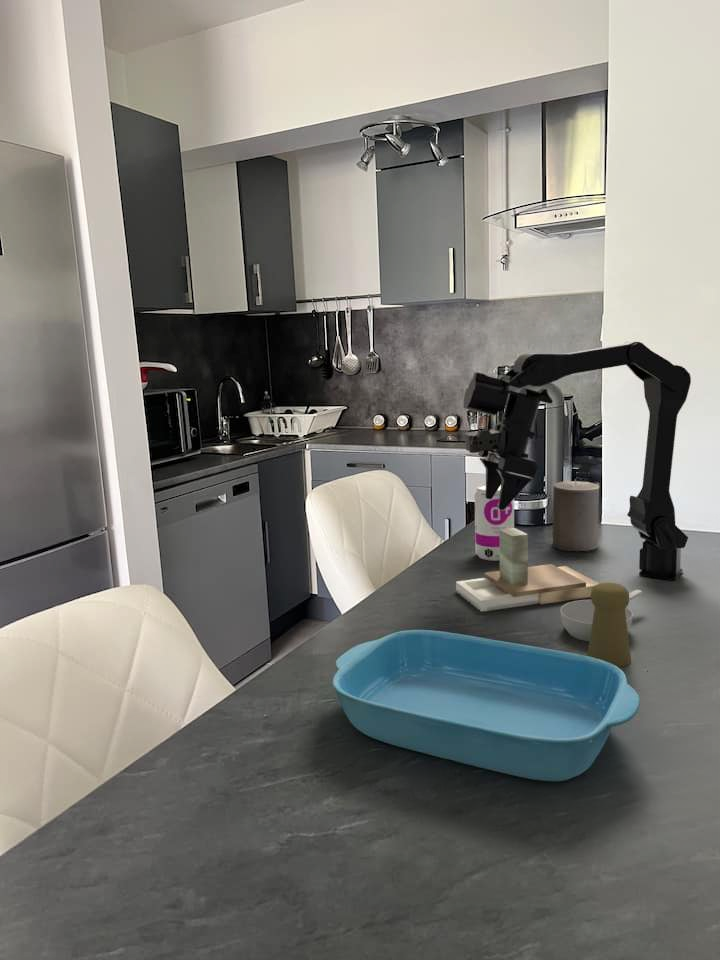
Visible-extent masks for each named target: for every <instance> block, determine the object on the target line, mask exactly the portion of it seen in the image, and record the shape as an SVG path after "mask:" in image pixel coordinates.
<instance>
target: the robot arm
mask: <svg viewBox="0 0 720 960" xmlns="http://www.w3.org/2000/svg"><path fill="white" fill-rule="evenodd" d="M620 366H626V367H628V369H629V370H630V371H631V372H632V373H633V374H634V375H635V376H636V377H637V378H638V379H639V380H641V381H642V382H643V393H644V399H645V402H646V405H647V410H648V413H649V418H648V428H647V439H646V448H645V458H644V467H643V468H644V469H643V478H642V486H641V487H642V488H640V489H641V490H640V491H639V492H638V494H637V496H635V495H630V496H629V510H628V512H627V514H626V516H627V517H629V518H630V524H631V526H632V527H633V528H634V529H635V530H636V531H637V532H638V534H639V535H638V536H639V537H640V539H643V540H644V541H643V542H642V547H641V548H640V549H639V559H638V560H639V564H638V565H639V566H638V567H639V569H638V570H640V571H639V572H638V575H639V576H642V577H647V578H656V579H663V580H668V581H676V580H677V578H678V577H679V576H681V574H682V573H683V568H681V559H682V558H681V557H682V556H681V555H682V549H684V548H686V545H687V542H688V540H689V536H688V535H686V533H684V531H682V529H680V528H679V527H678V526H677V525H676V512H675V511H676V510H675V505H674V503H673V502H674V501H673V499H672V496H671V493H670V487H671V486H670V485H671V477H672V467H673V457H674V449H675V439H676V438H675V437H676V430H677V419H678V415H679V413H680V411H681V410H682V408H683V406H684V404H685V403H686V401H687V398H688V394H689V391H690V387H691V385H692V384H691V382H692V377H691V374H690V372H688V370H687V369H686V368H684V367H683V366H681V365H677V364H676V365H675V364H673V363H671V361H670V360H667V359H666V358H664V357H662V356H661V355H659V354H658V353H656V352H654V351H652V350H651V349H650V348H649V347H648V346H647V345H645V344H644V343H643V342H640V341H625V342H623V343H621V344H615V345H609V346H603V347H596V348H592V349H585V350H579V351H573V352H566V353H539V352H538V353H534V352H533V353H532V352H530V353H529V352H528V353H523V354H520V355H519V356H517V358H516V359H515V361H514V363H513V367H512V368H511V369H509V370H508V371H507V372H506V373H504V374H503V375H502V376H501V377H500V378H496V377H492V376H488V375H486V374H485V373H482V372H477V371H475V372H473V376H472V378H471V379H470V382H469V384H468V385H467V388H466V389H465V392H464V396H463V397H464V398H463V402H462V403H463V405H462V406H463V408H464V409H466V410H468V411H469V410H470V411H473V412H477V413H482V414H485V415H490V416H496V415H497V414H498V412H499V413H501V412H503V415H502V419H501V421H500V422H497V423H495V426H494V429H485V430H481V429H479V430H477V431H469V432H465V433H464V440H465V450H466V451H468V452H469V453H471V454H476V453H477V455H478V456H480V457H479V461H480V462H481V463H482V465H483V467H484V468H485V485H486V496H485V497H486V498H487V499H492V497H493V496H494V495H495V493H496V492H497V490H498V488H499V487H500V485H501V489H500V497H499V505H498V508H499V509H501V510H505V509H506V507H507V506H508V505H509V504H510V503H511V502H512V500H513V499H514V500H515V499H516V497H517V496H518V495H519V493H521V492H522V491H523V489H524V488H525V487H526V486H527V485H528V484H529V483H530V482H533V478H535V479H537V477H538V473H539V469H540V467H539V465H538V463H537V461H536V460H534V459H531V458H529V455H530V454H529V453H527V452H526V451H527V450H528V445H529V442H530V439H531V438H532V439H534V438H535V434H536V432H534V431H533V429H534V426H535V421H536V418H537V414H538V411H539V406H540V404H541V403H542V402H543V403H546V404H550V405H551V404H552V403H553V399H552V398H551V396H550V395H549V393H548V390H547V388H543V386H545V385H548V384H550V383H554V382H556V381H558V380H560V379H563V378H565V377H567V376H570V375H573V374H579V373H585V372H590V371H597V370H598V371H599V370H604V369H609V368H615V367H620ZM527 386H529V387H531V386H532V387H542V388H540V389H539V390H534V389H529V388H526V387H527ZM509 387H512V388H516V389H521V390H519V392H517V391H512V390H511V389H510V390H509V389H508V388H509Z"/></svg>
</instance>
